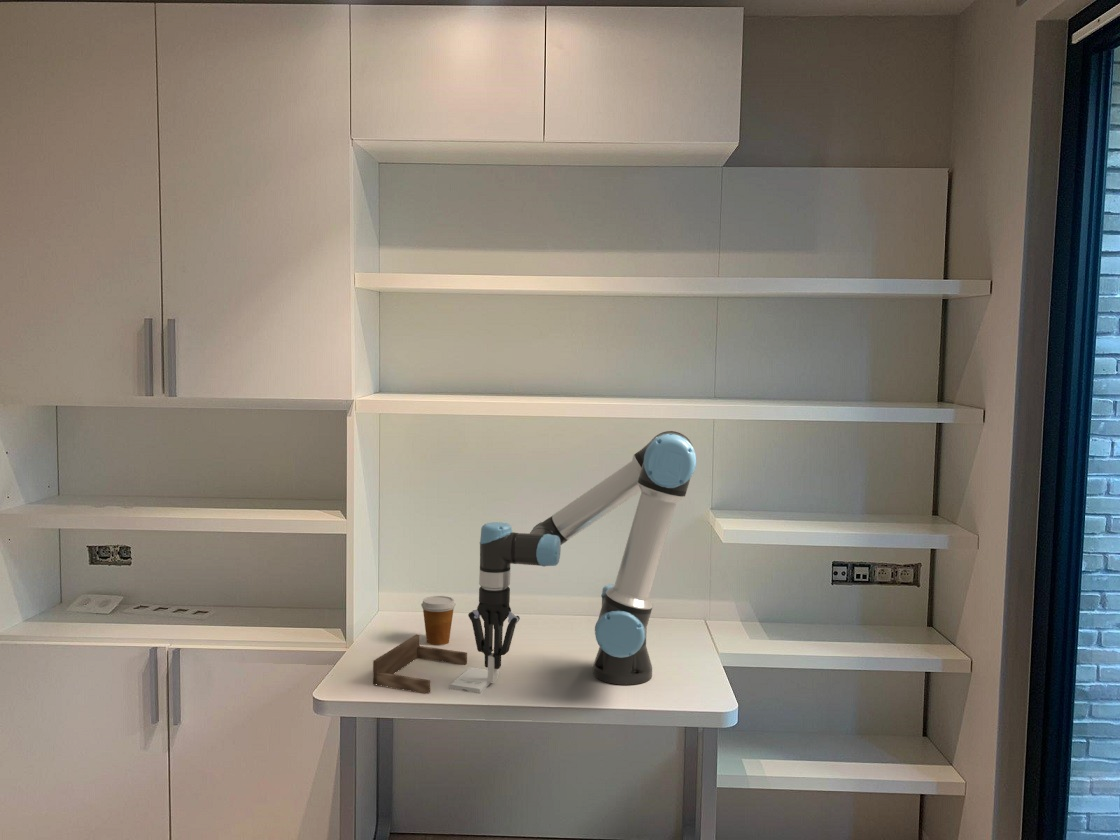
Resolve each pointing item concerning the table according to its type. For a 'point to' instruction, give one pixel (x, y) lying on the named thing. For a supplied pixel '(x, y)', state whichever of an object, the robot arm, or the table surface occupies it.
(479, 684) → the external hard drive
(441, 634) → the disposable coffee cup
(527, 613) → the table surface
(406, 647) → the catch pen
